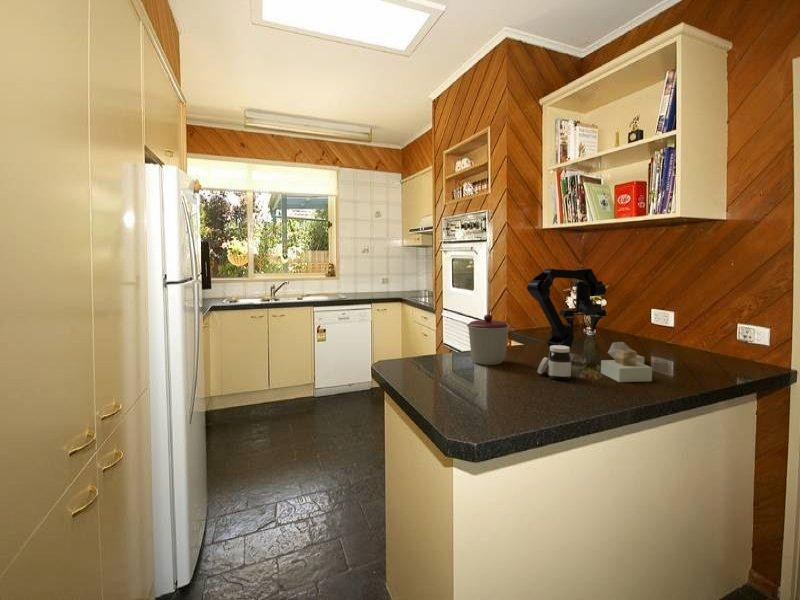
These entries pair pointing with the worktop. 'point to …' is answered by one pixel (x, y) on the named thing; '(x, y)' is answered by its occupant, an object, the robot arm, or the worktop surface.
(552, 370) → the spread jar
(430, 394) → the worktop surface
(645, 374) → the sage base block
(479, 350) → the canister
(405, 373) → the worktop surface
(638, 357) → the grey cube
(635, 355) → the oak cube
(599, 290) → the robot arm
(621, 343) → the die
